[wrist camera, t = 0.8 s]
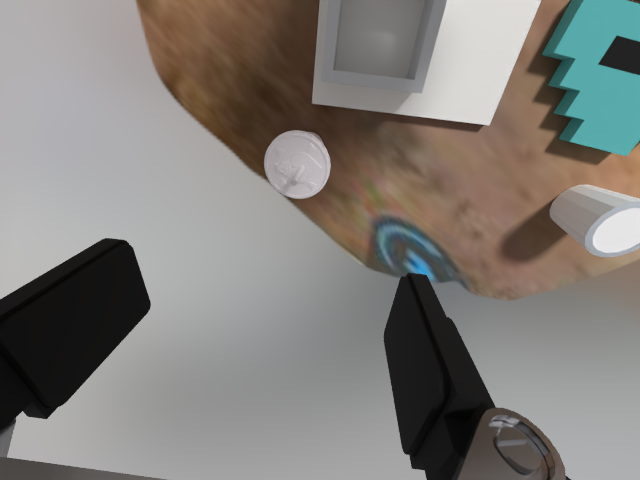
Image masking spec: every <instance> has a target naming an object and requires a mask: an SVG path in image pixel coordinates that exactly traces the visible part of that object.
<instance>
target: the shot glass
mask: <svg viewBox="0 0 640 480" xmlns="http://www.w3.org/2000/svg"><path fill="white" fill-rule="evenodd" d="M549 212H550V218H551V219H552V220H553V221H554V222H555V223H556V224H557V225H558V226H560V227H561V228H562V229H563V230H564V231H565V232H567V233H568V234H569V235H570V236H571V237H572V238H574V239H575V240H576V241H577V242H578V243H579V244H581V245H582V246H583V247H584V248H585V249H586V250H588V251H589V252H590V253H591V254H594V255H597V256H600V257H616V256H620V255H623V254H627V253H630V252H632V251H634V250H636V249H638V248H640V199H638V198H635V197H631V196H628V195H624V194H621V193H617V192H613V191H610V190H606V189H603V188H599V187H595V186H592V185H577V186H575V187H572V188H569V189H567V190H566V191H564V192H563V193H561V194H560V195H558V197H557V198H556V199H555V200H554V201H553V202H552V205H551V207H550V210H549Z"/></svg>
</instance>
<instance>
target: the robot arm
mask: <svg viewBox="0 0 640 480" xmlns="http://www.w3.org/2000/svg"><path fill="white" fill-rule="evenodd" d="M150 305H151V304H150V300H149V296H148V293H147V290H146V287H145V284H144V281H143V278H142V275H141V271H140V268H139V265H138V262H137V259H136V256H135V253H134V250H133V248H132V247H131V245H129V243H128V242H127V241H125V240H118V239H110V238H105V239H103V240H101V241H99V242H97V243H96V244H94V245H92V246H91V247H89V248H87V249H85V250H84V251H82V252H80V253H79V254H77V255H75V256H74V257H72V258H70V259H68V260H67V261H65V262H63V263H62V264H60V265H58V266H56V267H55V268H53V269H51V270H50V271H48V272H46V273H45V274H43V275H41V276H39V277H38V278H36V279H34V280H33V281H31V282H30V283H28V284H26V285H24V286H22V287H21V288H19V289H17V290H16V291H14V292H12V293H10V294H9V295H7V296H6V297H4V298H2V299H0V480H165V479H158V478H151V477H144V476H137V475H129V474H122V473H115V472H108V471H101V470H94V469H86V468H79V467H72V466H65V465H57V464H51V463H43V462H35V461H28V460H21V459H13V458H7V454H8V450H9V446H10V442H11V438H12V434H13V430H14V426H15V422H16V416H18V415H19V414H20V413H21V412H22V411H23V412H24V413H25V414H26V415H27V416H28V417H36V418H43V419H47V418H48V417H49V416H50V415H51V414H52V413H53V412H54V411H55V410H56V408H57V407H59V406H61V405H63V404H64V403H66V402H67V401H68V399H69V398H70V397H71V396H72V395H73V394H74V393H75V392H76V391H77V390H78V389H79V388H80V386H81V385H82V384H83V383H84V382H85V381H86V380H87V379H88V378H89V377H90V375H91V374H92V373H93V372H94V371H95V370H96V369H97V368H98V367H99V366H100V364H101V363H102V362H103V361H104V360H105V359H106V358H107V357H108V356H109V355H110V353H111V352H112V351H113V350H114V349H115V348H116V347H117V346H118V345H119V344H120V342H121V341H122V340H123V339H124V338H125V337H126V336H127V335H128V334H129V332H131V330H132V329H133V328H134V327H135V326H136V325H137V324H138V322H140V321H141V319H142V318H143V317H144V316H145V315H146V314H147V313H148V311H149V309H150ZM384 343H385V350H386V356H387V362H388V368H389V373H390V379H391V385H392V391H393V397H394V403H395V409H396V415H397V420H398V427H399V432H400V438H401V444H402V448H403V452H404V453H405V454H408V455H410V460H411V466H412V468H413V469H420V470H425V473H426V478H427V480H571V479H569V478H568V477H567V476H566V475H565V467H564V465H563V462H562V460H561V458H560V455H559V453H558V452H557V450H556V449H555V447H554V446H553V445H552V443H551V441H550V440H549V439H548V438H547V437H546V436H545V435H544V433H543V432H542V431H541V430H540V429H539V428H537V426H535V425H534V424H533V423H532V422H530V421H529V420H528V419H527V418H525V417H523V416H521V415H520V414H518V413H516V412H514V411H511V410H508V409H505V408H496V407H495V405H494V403H493V401H492V399H491V397H490V395H489V393H488V391H487V389H486V387H485V385H484V383H483V381H482V379H481V377H480V375H479V373H478V371H477V369H476V366H475V365H474V362H473V360H472V358H471V357H470V354H469V352H468V350H467V348H466V346H465V344H464V342H463V340H462V338H461V336H460V334H459V332H458V330H457V328H456V326H455V324H454V323H453V321H452V320H451V319H450V318H449V317H446V315H445V312H444V310H443V308H442V306H441V304H440V302H439V300H438V298H437V296H436V294H435V291H434V290H433V287H432V285H431V283H430V281H429V279H428V277H427V275H423V274H414V273H408V274H407V275H406V277H403V276H402V277H401V278H400V282H399V285H398V288H397V291H396V295H395V298H394V301H393V305H392V308H391V311H390V315H389V318H388V321H387V324H386V328H385V331H384Z"/></svg>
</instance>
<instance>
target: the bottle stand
mask: <svg viewBox="0 0 640 480" xmlns="http://www.w3.org/2000/svg"><path fill="white" fill-rule="evenodd" d="M540 2H541V0H320V3H319V16H318V30H317V43H316V56H315V69H314V82H313V95H312V104H320V105H328V106H336V107H344V108H352V109H360V110H369V111H377V112H385V113H393V114H401V115H409V116H417V117H425V118H433V119H442V120H450V121H458V122H466V123H474V124H482V125H490V123H491V120H492V118H493V115H494V113H495V111H496V108H497V106H498V103H499V101H500V99H501V96H502V94H503V91H504V89H505V87H506V84H507V82H508V79H509V77H510V74H511V72H512V70H513V67H514V65H515V62H516V60H517V58H518V55H519V53H520V50H521V48H522V46H523V43H524V41H525V38H526V36H527V33H528V31H529V29H530V26H531V24H532V21H533V19H534V17H535V14H536V12H537V9H538V7H539V4H540Z"/></svg>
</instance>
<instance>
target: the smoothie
mask: <svg viewBox="0 0 640 480" xmlns="http://www.w3.org/2000/svg"><path fill="white" fill-rule="evenodd" d="M330 167H331V164H330V157H329V154H328V152H327V149H326V148H325V146H324V144H323V141H322V139H321V138H320V136H319V135H317V134H316V133H313V132H305V131H298V130H293V131H287V132H285V133H283V134H281V135H279V136H278V137H276V138H275V139H274V140H273V141H272V143H271V144H270V145H269V147H268V149H267V151H266V154H265V158H264V168H265V173H266V176H267V178H268V180H269V182H270V183H271V185H272V186H273V187H274V188H275V189H276V190H277V191H278V192H280V193H281V194H283V195H285V196H287V197H290V198H295V199H303V198H308V197H311V196H313V195H315V194H316V193H318V192H319V191H320V190H321V189H322V188H323V187H324V185H325V184H326V182H327V179H328V177H329V174H330Z"/></svg>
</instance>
